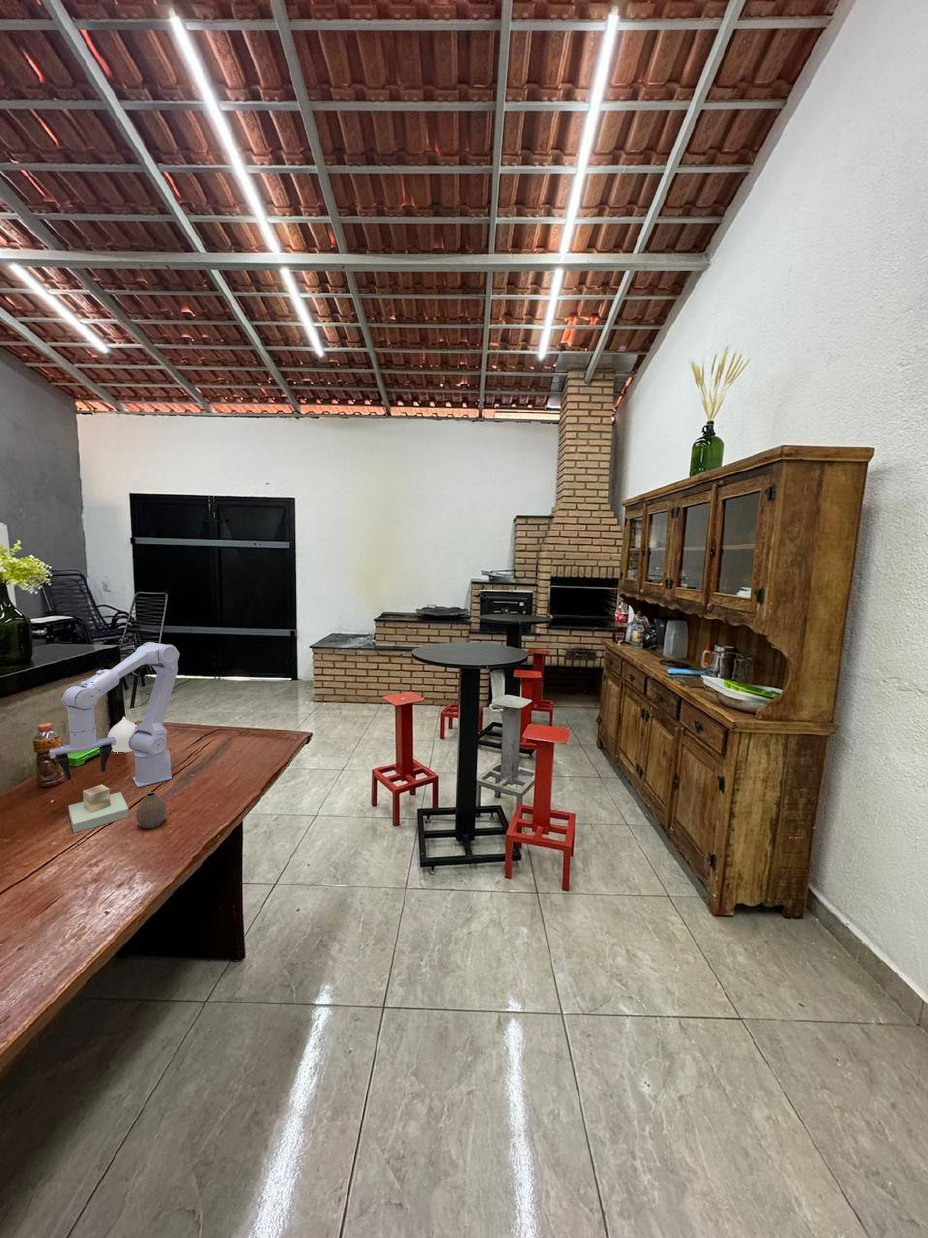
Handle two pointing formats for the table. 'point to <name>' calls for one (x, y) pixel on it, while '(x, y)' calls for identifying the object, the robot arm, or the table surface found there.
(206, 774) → the table surface
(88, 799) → the beech block
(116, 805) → the base slab
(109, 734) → the teardrop
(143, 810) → the vase
